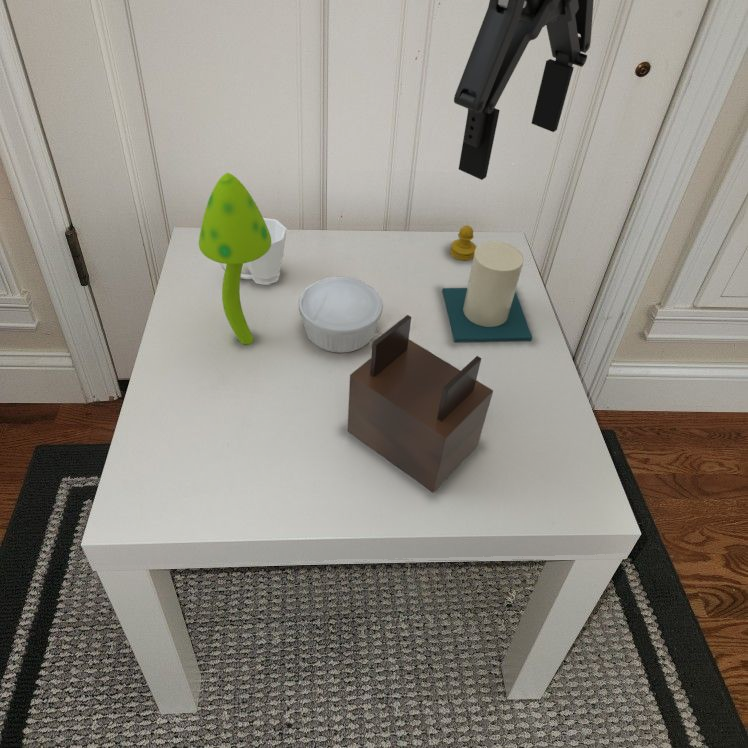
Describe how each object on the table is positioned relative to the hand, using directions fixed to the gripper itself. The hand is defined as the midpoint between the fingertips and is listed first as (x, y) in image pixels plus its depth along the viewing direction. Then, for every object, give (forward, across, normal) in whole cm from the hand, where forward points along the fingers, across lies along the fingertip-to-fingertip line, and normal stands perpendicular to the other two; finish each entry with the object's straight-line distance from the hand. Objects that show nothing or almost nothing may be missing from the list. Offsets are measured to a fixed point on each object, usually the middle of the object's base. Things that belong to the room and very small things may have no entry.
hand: (510, 149), depth 66 cm
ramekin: (+31, +7, -16) cm, 35 cm away
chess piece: (+31, -20, -14) cm, 39 cm away
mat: (+31, -10, -3) cm, 32 cm away
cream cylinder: (+30, -10, -3) cm, 32 cm away
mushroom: (+31, +17, -24) cm, 43 cm away
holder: (+31, +15, +3) cm, 34 cm away
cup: (+31, +7, -33) cm, 46 cm away
